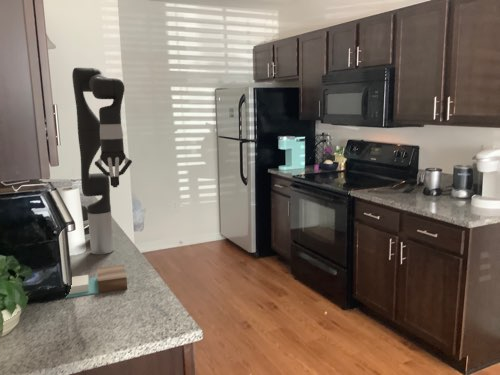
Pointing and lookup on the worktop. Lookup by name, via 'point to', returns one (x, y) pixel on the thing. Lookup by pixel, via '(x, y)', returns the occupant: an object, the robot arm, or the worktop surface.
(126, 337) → the worktop surface
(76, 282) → the tile
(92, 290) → the mat
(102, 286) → the board
